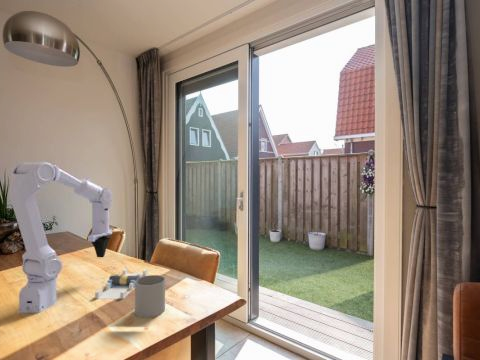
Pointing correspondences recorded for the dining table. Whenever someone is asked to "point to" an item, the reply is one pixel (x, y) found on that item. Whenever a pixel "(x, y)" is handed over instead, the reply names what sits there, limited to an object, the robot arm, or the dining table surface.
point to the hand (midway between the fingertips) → (100, 256)
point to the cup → (149, 296)
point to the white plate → (118, 287)
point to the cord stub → (123, 279)
